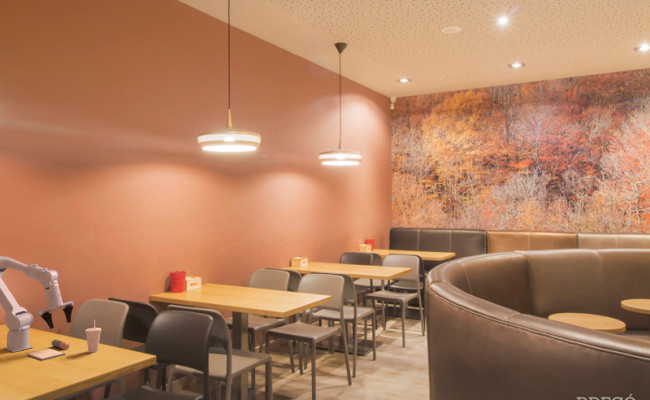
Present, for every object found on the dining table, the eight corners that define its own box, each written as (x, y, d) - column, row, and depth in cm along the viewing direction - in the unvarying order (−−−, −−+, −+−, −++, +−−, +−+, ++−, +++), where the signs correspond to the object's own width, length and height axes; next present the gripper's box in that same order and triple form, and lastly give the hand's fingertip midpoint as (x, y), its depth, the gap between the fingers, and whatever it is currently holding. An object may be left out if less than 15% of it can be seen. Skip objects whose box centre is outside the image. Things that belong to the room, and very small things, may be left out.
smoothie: (94, 353, 196) (94, 321, 197) (81, 353, 198) (82, 320, 198) (104, 349, 203) (104, 318, 203) (91, 348, 204) (92, 317, 204)
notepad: (26, 355, 195) (26, 353, 195) (50, 349, 203) (50, 348, 203) (41, 360, 187) (41, 359, 187) (65, 354, 195) (65, 353, 196)
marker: (51, 347, 207) (51, 340, 207) (58, 344, 210) (58, 338, 210) (62, 350, 202) (62, 343, 202) (69, 348, 204) (69, 341, 204)
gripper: (40, 300, 196) (48, 330, 196) (73, 290, 209) (81, 319, 208) (33, 302, 200) (40, 331, 200) (66, 292, 212) (73, 320, 212)
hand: (60, 325), depth 204 cm, fingers open, 7 cm apart
